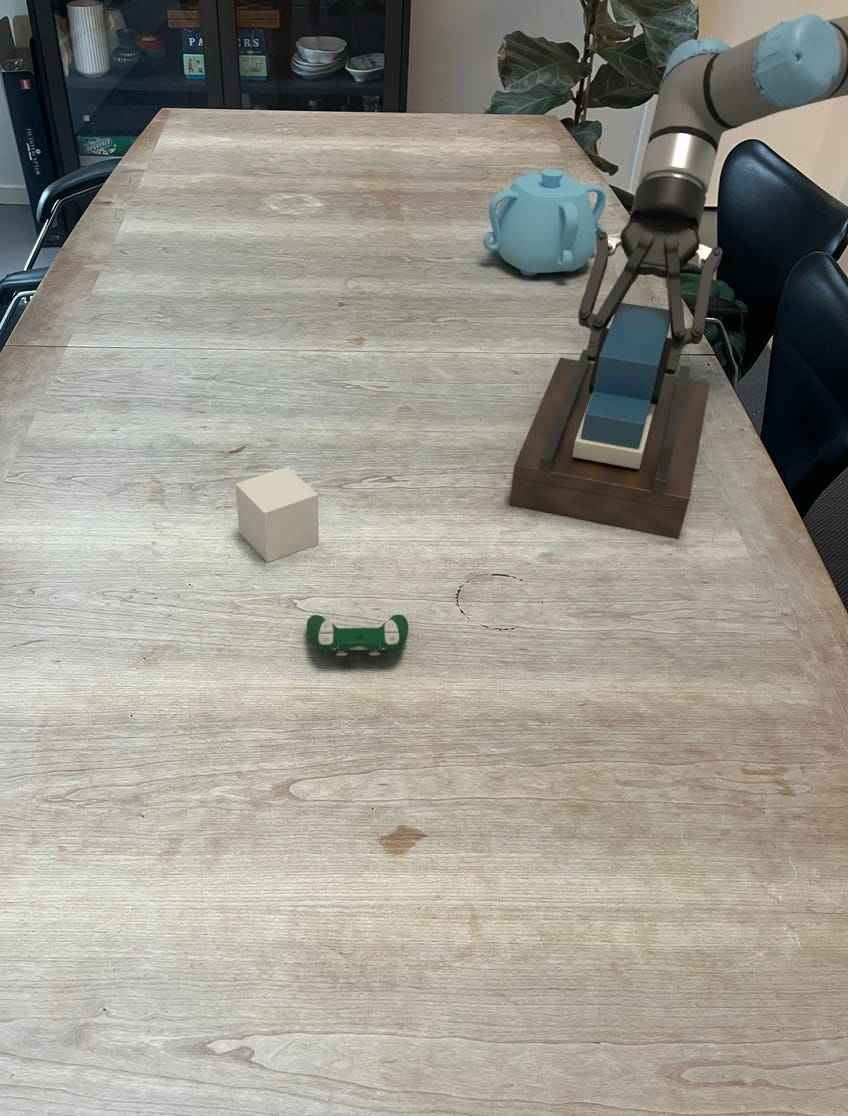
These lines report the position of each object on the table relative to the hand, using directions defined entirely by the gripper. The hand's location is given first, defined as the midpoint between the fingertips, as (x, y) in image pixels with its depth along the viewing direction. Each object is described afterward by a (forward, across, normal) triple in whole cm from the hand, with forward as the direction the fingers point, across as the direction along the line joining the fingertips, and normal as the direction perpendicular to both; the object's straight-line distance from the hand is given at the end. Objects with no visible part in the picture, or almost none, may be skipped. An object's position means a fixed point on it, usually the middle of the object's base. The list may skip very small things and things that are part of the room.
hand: (623, 394), depth 112 cm
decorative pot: (-33, +19, -45) cm, 59 cm away
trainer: (+2, 0, -3) cm, 3 cm away
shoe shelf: (+5, 0, -7) cm, 9 cm away
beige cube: (+25, +30, +12) cm, 41 cm away
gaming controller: (+34, +17, +21) cm, 43 cm away
